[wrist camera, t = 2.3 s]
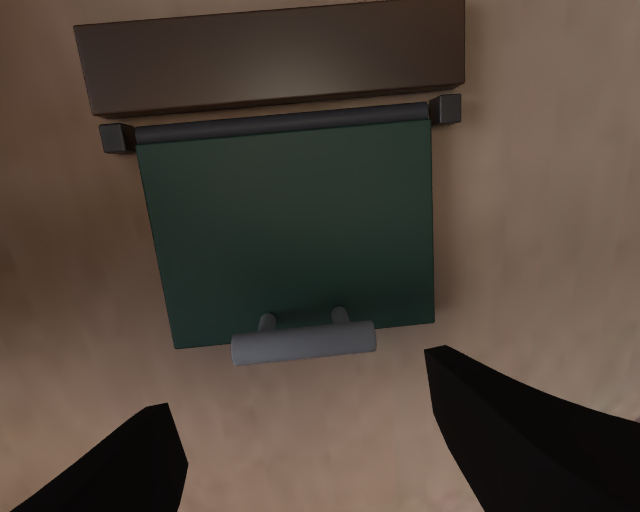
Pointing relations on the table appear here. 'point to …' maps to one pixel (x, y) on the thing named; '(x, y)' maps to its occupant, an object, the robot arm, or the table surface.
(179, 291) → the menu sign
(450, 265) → the table surface
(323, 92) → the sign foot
